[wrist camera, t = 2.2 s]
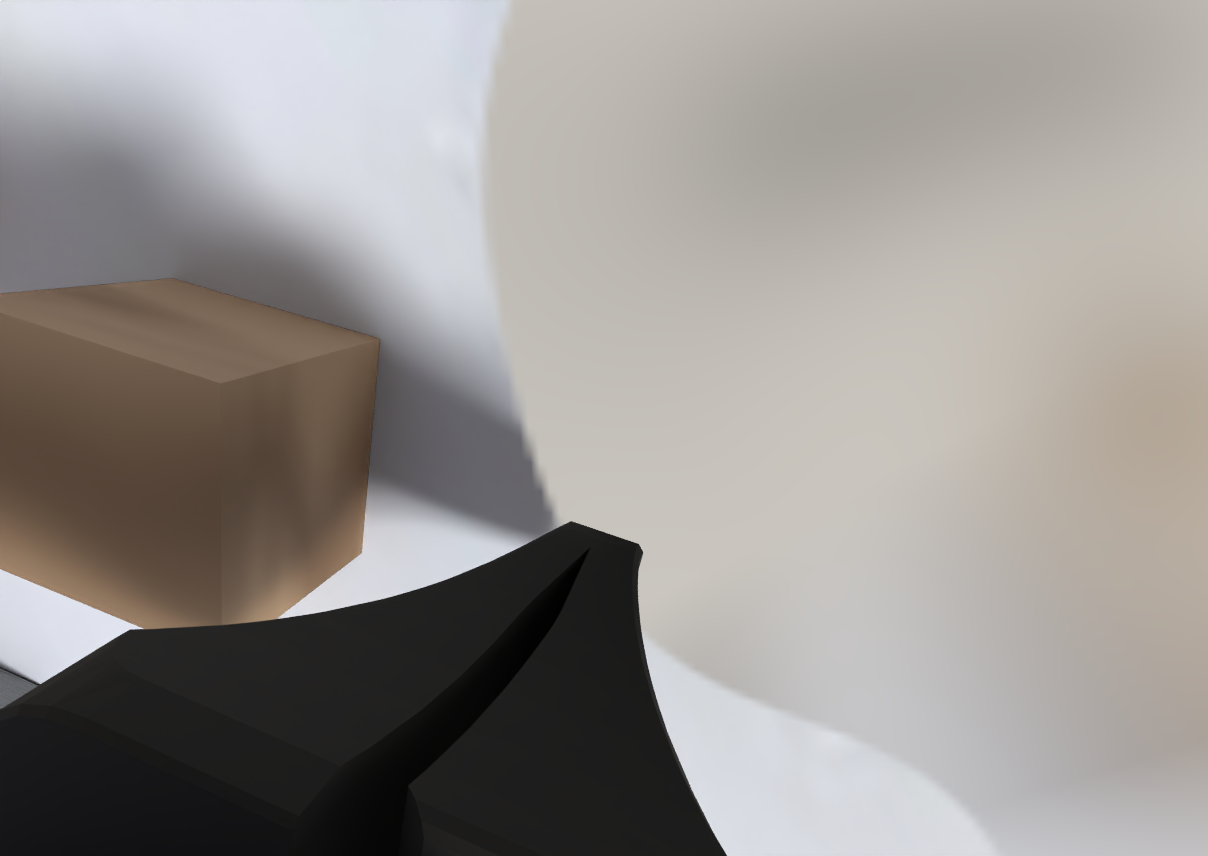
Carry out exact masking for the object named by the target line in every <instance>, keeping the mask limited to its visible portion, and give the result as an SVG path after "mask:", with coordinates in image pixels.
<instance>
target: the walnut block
mask: <svg viewBox="0 0 1208 856" xmlns="http://www.w3.org/2000/svg"><path fill="white" fill-rule="evenodd" d="M379 345H380V339H379V338H376V337H372V336H369V335H365V334H362V333H358V332H355V331H351V330H348V329H345V328H341V327H338V326H334V325H331V324H327V323H324V322H320V321H317V320H314V319H310V318H307V317H303V316H300V315H296V314H293V313H289V312H286V311H283V310H279V309H276V308H272V307H269V306H265V305H262V304H258V303H255V302H252V301H248V300H245V299H241V298H238V297H234V296H231V295H227V294H224V293H221V292H217V291H214V290H210V289H207V288H203V287H200V286H196V285H193V284H190V283H186V282H183V281H179V280H176V279H172V278H171V279H159V280H148V281H136V282H125V283H114V284H102V285H91V286H79V287H68V288H57V289H45V290H34V291H23V292H11V293H0V569H1V570H4V571H6V572H9V573H11V574H13V575H16V576H18V577H21V578H23V579H26V580H28V581H30V582H33V583H35V584H38V585H40V586H42V587H45V588H47V589H50V590H52V591H54V592H57V593H59V594H62V595H64V596H67V597H69V598H71V599H74V600H76V601H79V602H81V603H83V604H86V605H88V606H91V607H93V608H95V609H98V610H100V611H103V612H105V613H108V614H110V615H112V616H115V617H117V618H120V619H122V620H124V621H127V622H129V623H132V624H134V625H137V626H139V627H141V628H144V629H161V628H178V627H196V626H213V625H228V624H238V623H249V622H257V621H265V620H273V619H277V618H278V617H279V616H281V615H282V614H283V613H285V612H286V611H287V610H288V609H290V608H291V607H292V606H294V605H295V604H296V603H298V602H299V601H300V600H301V599H303V598H304V597H305V596H307V595H308V594H309V593H310V592H312V591H313V590H314V589H316V588H317V587H318V586H320V585H321V584H322V583H323V582H325V581H326V580H327V579H329V578H330V577H331V576H332V575H334V574H335V573H336V572H338V571H339V570H340V569H342V568H343V567H344V566H345V565H347V564H348V563H349V562H351V561H352V560H353V559H354V558H356V557H357V556H358V555H360V554H361V553H362V543H363V531H364V519H365V508H366V496H367V485H368V473H369V461H370V450H371V438H372V426H373V415H374V403H375V392H376V380H377V368H378V357H379Z"/></svg>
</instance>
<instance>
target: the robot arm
mask: <svg viewBox="0 0 1208 856" xmlns="http://www.w3.org/2000/svg"><path fill="white" fill-rule="evenodd" d="M642 555H643V551H642V549H641V547H640V546H639V544H637V543H634V542H631V541H628V540H625V539H622V538H619V537H616V536H613V535H610V534H607V533H604V532H602V531H598V530H596V529H593V528H590V527H587V526H584V525H581V524H578V523H575V522H572V521H571V522H569V523H567V524H565V525H563V526H560V527H558V528H556V529H554V530H553V531H551V532H549V533H547V534H545V535H543V536H541V537H539V538H537V539H535V540H533V541H532V542H530V543H528V544H526V545H524V546H522V547H520V548H518V549H516V550H514V551H512V552H510V553H507V554H505V555H503V556H501V557H499V558H497V559H495V560H493V561H491V562H488V563H486V564H484V565H481V566H479V567H476V568H474V569H472V570H469V571H467V572H464V573H462V574H460V575H457V576H455V577H452V578H450V579H447V580H444V581H441V582H439V583H436V584H433V585H430V586H427V587H424V588H420V589H417V590H413V591H410V592H407V593H403V594H400V595H397V596H393V597H389V598H385V599H381V600H377V601H372V602H368V603H363V604H358V605H354V606H349V607H345V608H340V609H335V610H331V611H326V612H321V613H315V614H308V615H302V616H295V617H289V618H282V619H273V620H265V621H257V622H249V623H238V624H228V625H213V626H196V627H178V628H161V629H135V630H129V631H127V632H125V633H123V634H122V635H120V636H118V637H117V638H115V639H113V640H112V641H110V642H108V643H107V644H105V645H104V646H102V647H100V648H99V649H97V650H95V651H94V652H92V653H91V654H89V655H87V656H86V657H84V658H82V659H81V660H79V661H78V662H76V663H74V664H73V665H71V666H70V667H68V668H66V669H65V670H63V671H61V672H60V673H58V674H57V675H55V676H53V677H52V678H50V679H48V680H47V681H45V682H44V683H42V684H40V685H39V686H37V687H36V688H34V689H32V690H31V691H29V692H27V693H26V694H24V695H23V696H21V697H19V698H18V699H16V700H15V701H13V702H11V703H10V704H8V705H6V706H5V707H3V708H2V709H0V856H727V855H726V853H725V852H724V850H723V848H722V847H721V845H720V843H719V842H718V840H717V838H716V836H715V835H714V833H713V831H712V829H711V827H710V825H709V823H708V821H707V819H706V817H705V815H704V813H703V811H702V809H701V807H700V805H699V803H698V802H697V800H696V798H695V796H694V794H693V792H692V790H691V787H690V785H689V782H688V780H687V778H686V775H685V773H684V771H683V768H682V766H681V764H680V761H679V759H678V756H677V754H676V752H675V749H674V747H673V745H672V742H671V740H670V738H669V735H668V732H667V729H666V727H665V724H664V721H663V718H662V715H661V712H660V709H659V706H658V702H657V699H656V695H655V692H654V689H653V685H652V681H651V677H650V673H649V669H648V665H647V660H646V655H645V650H644V644H643V639H642V632H641V625H640V615H639V604H638V569H639V566H640V562H641V559H642Z"/></svg>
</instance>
